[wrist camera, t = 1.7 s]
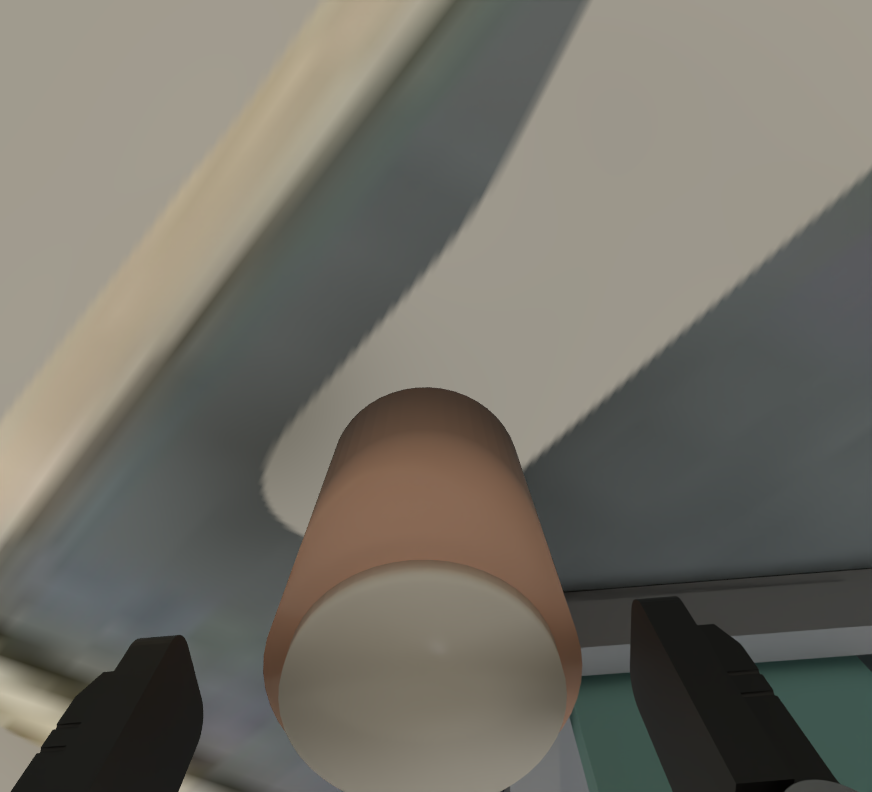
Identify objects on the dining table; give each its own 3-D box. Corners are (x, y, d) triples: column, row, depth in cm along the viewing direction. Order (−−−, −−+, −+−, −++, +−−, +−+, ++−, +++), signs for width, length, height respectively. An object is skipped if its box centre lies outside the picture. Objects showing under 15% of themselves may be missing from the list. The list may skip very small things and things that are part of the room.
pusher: (833, 630, 19) (1047, 862, 13) (821, 710, 20) (1013, 964, 14) (558, 651, 19) (627, 892, 13) (560, 729, 20) (625, 990, 14)
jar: (514, 379, 17) (590, 545, 9) (522, 549, 19) (591, 814, 11) (319, 396, 17) (224, 573, 9) (345, 563, 19) (283, 836, 11)
